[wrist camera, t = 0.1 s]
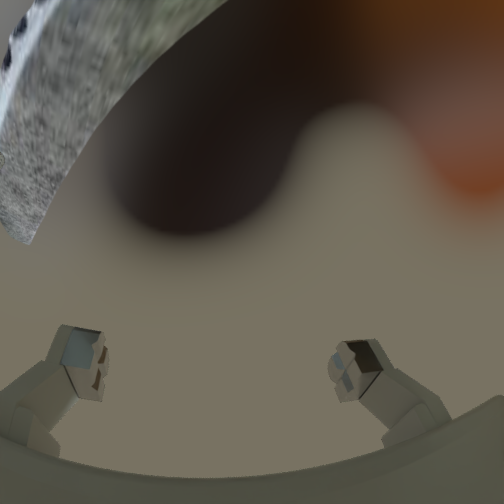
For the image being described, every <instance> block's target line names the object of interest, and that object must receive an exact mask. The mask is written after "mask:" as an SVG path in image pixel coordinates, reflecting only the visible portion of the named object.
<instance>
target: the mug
mask: <svg viewBox="0 0 504 504" xmlns="http://www.w3.org/2000/svg"><path fill="white" fill-rule="evenodd" d="M4 163H5V158H4V156H3V154H2V153H1V152H0V169H1V168H2V166H3V165H4Z"/></svg>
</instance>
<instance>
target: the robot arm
mask: <svg viewBox="0 0 504 504" xmlns="http://www.w3.org/2000/svg"><path fill="white" fill-rule="evenodd" d="M104 343H105V336H104V333H103V332H101V331H95V330H89V329H84V328H79V327H73V326H68V325H63V324H62V325H61V326H60V327H59V328H58V330H57V332H56V335H55V337H54V339H53V342H52V344H51V347H50V349H49V352H48V354H47V357H46V360H45V361H42V360H41V361H40V362H38V363H37V364H36V365H34V366H33V367H32V368H30V369H29V370H28V371H26V372H25V373H24V374H22V375H21V376H20V377H18V378H17V379H16V380H14V381H13V382H12V383H11V384H9V385H8V386H7V387H6V388H4V389H3V390H2V391H0V504H504V396H503V395H496V396H494V397H492V398H490V399H489V400H487V401H486V402H484V403H482V404H480V405H479V406H477V407H475V408H474V409H472V410H470V411H468V412H467V413H464V414H463V415H461V416H459V417H457V418H455V419H453V420H452V418H451V417H450V415H449V413H448V411H447V409H446V408H445V406H444V404H443V402H442V401H441V399H440V397H439V396H438V395H436V394H435V393H433V392H432V391H430V390H429V389H427V388H426V387H424V386H423V385H421V384H420V383H418V382H417V381H415V380H414V379H412V378H411V377H409V376H408V375H406V374H405V373H403V372H402V371H401V370H399V369H395V368H394V367H393V365H392V363H391V362H390V360H389V358H388V357H387V355H386V353H385V352H384V350H383V348H382V347H381V345H380V344H379V342H378V341H377V340H376V339H366V340H352V341H342V342H340V343H339V344H338V346H337V347H336V349H337V353H335V354H334V355H332V356H331V358H330V360H329V363H328V373H329V376H330V379H331V380H332V381H333V382H335V383H336V386H335V391H336V394H337V396H338V398H339V401H340V402H347V401H354V400H359V402H360V403H361V404H362V405H364V406H365V407H366V408H367V409H368V410H369V411H370V412H371V413H372V414H373V415H374V416H376V418H378V419H379V420H380V421H381V422H382V423H383V424H384V425H385V426H386V427H387V428H389V431H388V432H387V433H386V434H385V435H383V437H382V439H381V440H382V442H383V444H384V447H385V448H384V449H381V450H378V451H375V452H372V453H368V454H365V455H361V456H358V457H355V458H351V459H348V460H343V461H340V462H335V463H331V464H326V465H322V466H318V467H313V468H307V469H302V470H296V471H289V472H282V473H275V474H266V475H257V476H245V477H227V478H182V477H165V476H153V475H143V474H135V473H127V472H121V471H115V470H109V469H103V468H99V467H94V466H89V465H85V464H81V463H77V462H73V461H69V460H65V459H61V458H59V454H60V445H59V443H58V442H57V441H56V440H55V439H54V437H53V436H52V435H51V434H50V433H49V432H50V431H51V430H52V429H53V428H54V426H55V425H56V424H57V423H58V422H59V421H60V420H61V419H62V417H63V416H64V415H65V414H66V413H67V412H68V411H69V410H70V409H71V407H72V406H73V405H74V404H75V403H76V402H77V401H78V398H81V399H87V400H94V401H100V402H102V398H103V393H104V388H105V384H104V381H103V378H104V377H105V376H106V375H107V373H108V367H109V366H108V365H109V354H108V349H107V348H106V347H105V346H104Z"/></svg>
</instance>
